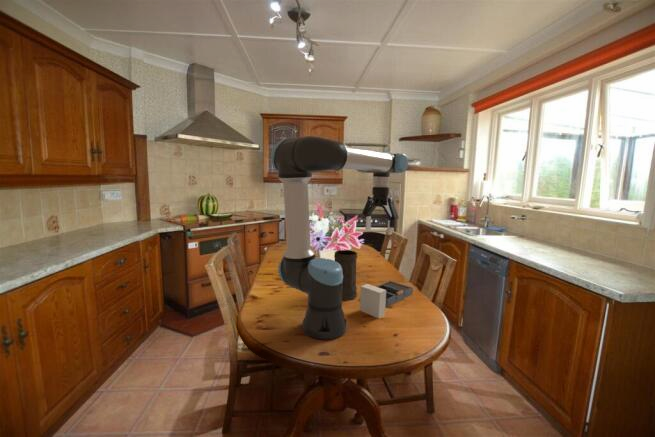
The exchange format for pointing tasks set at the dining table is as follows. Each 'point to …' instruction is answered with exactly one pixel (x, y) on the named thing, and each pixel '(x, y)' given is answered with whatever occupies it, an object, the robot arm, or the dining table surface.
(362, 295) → the white rectangular block
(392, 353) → the dining table surface
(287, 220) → the robot arm
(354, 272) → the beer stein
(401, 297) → the dark grey compartment tray
